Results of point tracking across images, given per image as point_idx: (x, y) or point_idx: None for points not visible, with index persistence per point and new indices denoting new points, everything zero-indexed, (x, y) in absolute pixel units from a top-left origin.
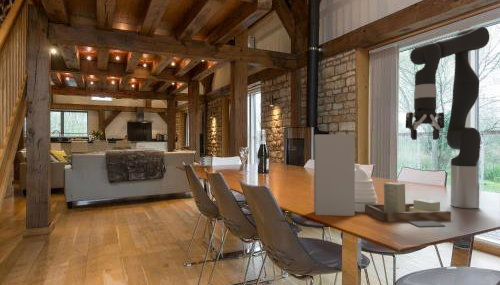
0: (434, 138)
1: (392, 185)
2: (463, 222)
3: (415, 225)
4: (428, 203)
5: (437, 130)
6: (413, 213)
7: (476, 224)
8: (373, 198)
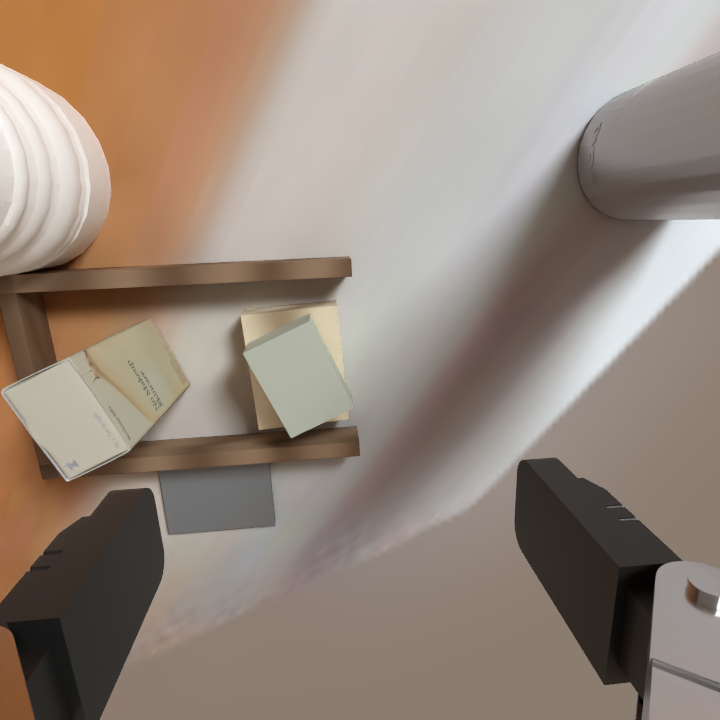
0: (525, 504)
1: (49, 447)
2: (385, 468)
3: (167, 513)
4: (284, 422)
5: (619, 672)
6: (183, 467)
7: (413, 495)
8: (31, 263)
